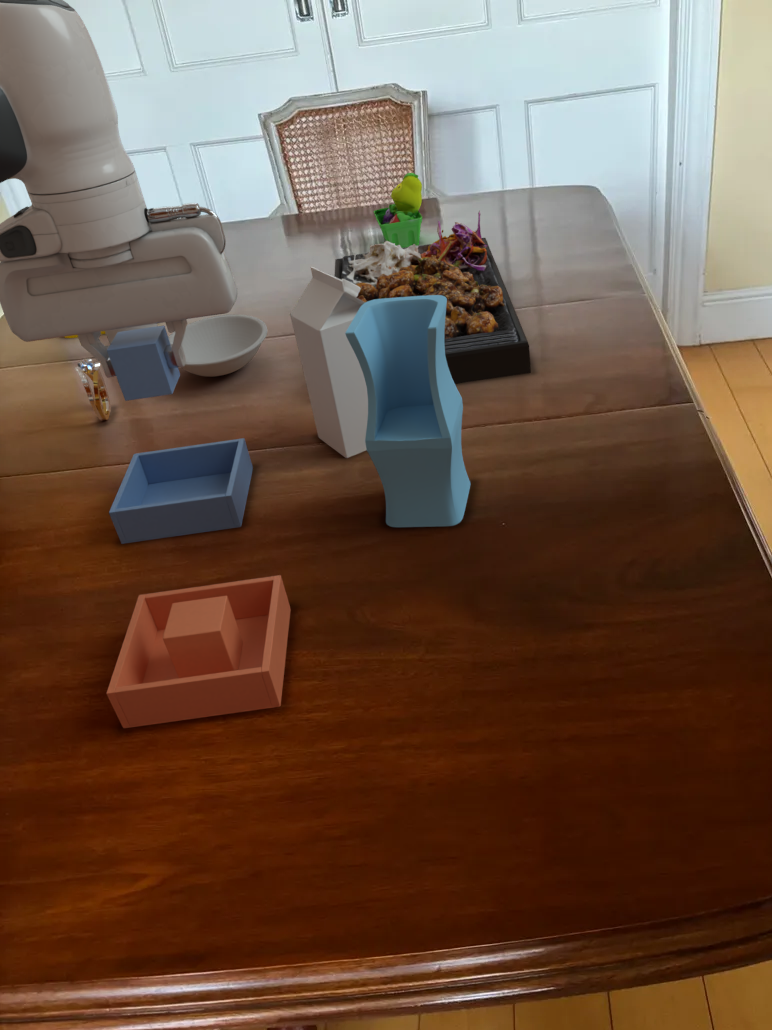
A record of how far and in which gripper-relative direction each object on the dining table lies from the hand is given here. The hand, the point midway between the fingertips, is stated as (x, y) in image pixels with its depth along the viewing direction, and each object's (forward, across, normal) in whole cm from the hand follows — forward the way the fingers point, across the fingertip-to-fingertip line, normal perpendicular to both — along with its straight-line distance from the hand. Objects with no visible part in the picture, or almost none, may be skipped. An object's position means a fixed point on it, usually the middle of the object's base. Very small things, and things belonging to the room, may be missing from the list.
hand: (146, 370), depth 84 cm
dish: (+16, +2, -37) cm, 40 cm away
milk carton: (+16, -17, -11) cm, 26 cm away
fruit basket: (+16, -25, -86) cm, 91 cm away
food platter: (+16, -26, -44) cm, 54 cm away
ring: (+16, +16, -27) cm, 35 cm away
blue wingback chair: (+16, -24, +6) cm, 30 cm away
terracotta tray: (+16, -6, +26) cm, 31 cm away
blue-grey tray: (+16, +1, -1) cm, 16 cm away
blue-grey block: (+2, 0, 0) cm, 2 cm away
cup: (+16, +17, -47) cm, 53 cm away
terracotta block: (+15, -6, +26) cm, 31 cm away
